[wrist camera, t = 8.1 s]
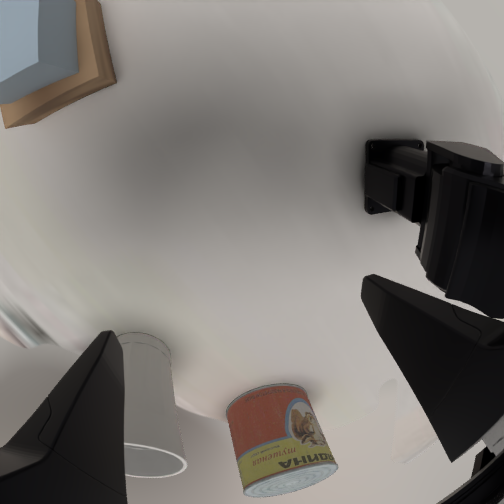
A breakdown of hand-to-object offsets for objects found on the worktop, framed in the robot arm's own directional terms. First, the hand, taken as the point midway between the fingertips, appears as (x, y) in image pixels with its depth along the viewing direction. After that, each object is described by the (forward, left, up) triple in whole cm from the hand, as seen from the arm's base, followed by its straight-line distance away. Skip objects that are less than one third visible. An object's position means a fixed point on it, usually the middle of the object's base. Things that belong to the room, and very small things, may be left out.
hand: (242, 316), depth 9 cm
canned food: (-2, +29, -13) cm, 32 cm away
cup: (+10, +14, -13) cm, 22 cm away
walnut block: (+9, -13, -13) cm, 21 cm away
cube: (+9, -13, -9) cm, 18 cm away
